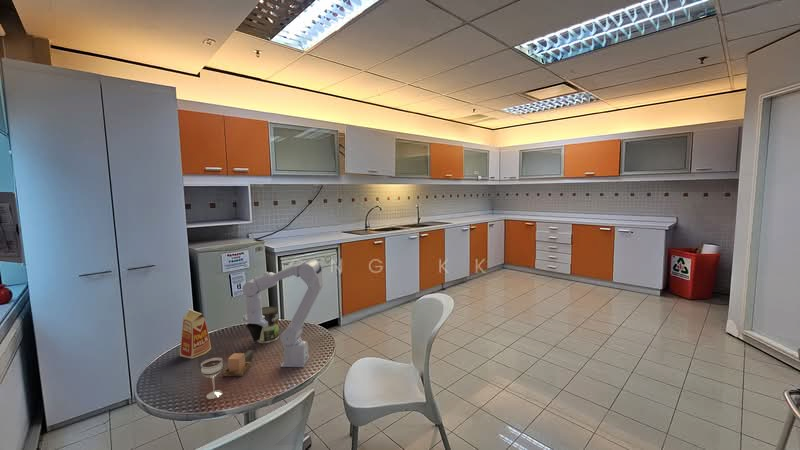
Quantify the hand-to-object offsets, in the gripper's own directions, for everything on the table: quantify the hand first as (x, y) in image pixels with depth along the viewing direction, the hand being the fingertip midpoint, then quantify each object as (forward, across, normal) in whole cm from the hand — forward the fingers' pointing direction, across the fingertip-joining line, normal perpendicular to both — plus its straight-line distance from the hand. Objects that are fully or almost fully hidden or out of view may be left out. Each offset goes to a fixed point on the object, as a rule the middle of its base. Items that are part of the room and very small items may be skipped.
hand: (256, 340), depth 140 cm
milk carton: (+10, +30, +10) cm, 33 cm away
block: (+10, 0, +9) cm, 13 cm away
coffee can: (+10, +15, -16) cm, 24 cm away
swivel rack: (+9, +2, +6) cm, 11 cm away
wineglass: (+10, -7, +22) cm, 25 cm away
